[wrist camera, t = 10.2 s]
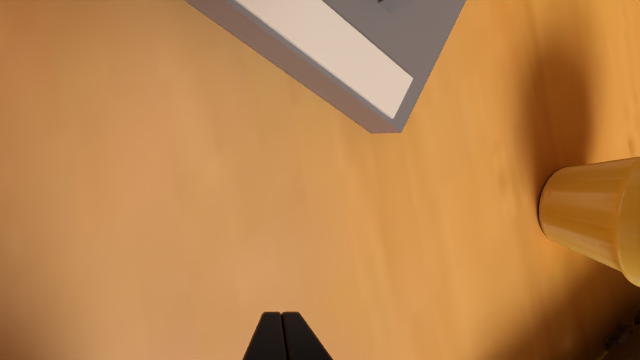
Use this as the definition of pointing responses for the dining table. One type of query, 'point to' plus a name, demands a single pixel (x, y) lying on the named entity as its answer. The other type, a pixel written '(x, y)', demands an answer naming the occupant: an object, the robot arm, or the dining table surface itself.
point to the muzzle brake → (624, 342)
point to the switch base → (347, 48)
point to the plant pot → (596, 212)
